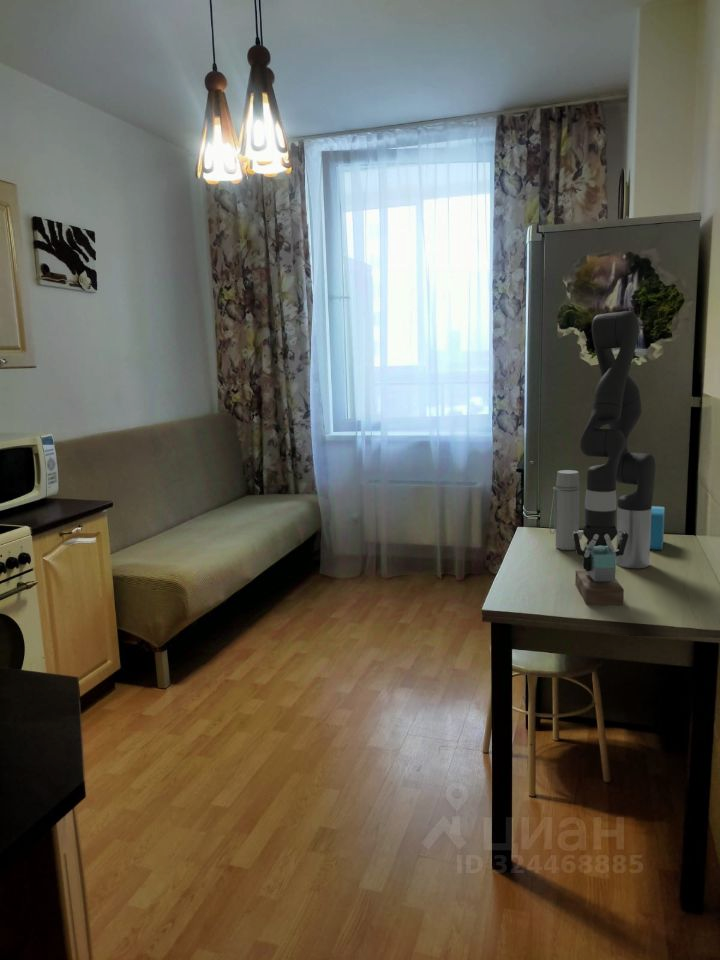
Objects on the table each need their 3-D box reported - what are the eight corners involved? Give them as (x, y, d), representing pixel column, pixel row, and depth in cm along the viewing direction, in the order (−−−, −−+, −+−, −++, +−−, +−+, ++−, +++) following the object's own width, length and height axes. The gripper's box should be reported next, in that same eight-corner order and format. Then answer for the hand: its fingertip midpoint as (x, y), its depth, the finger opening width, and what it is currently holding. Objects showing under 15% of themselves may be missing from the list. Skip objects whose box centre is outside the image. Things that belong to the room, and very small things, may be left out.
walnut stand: (575, 584, 186) (575, 570, 185) (609, 584, 185) (610, 570, 184) (585, 604, 171) (586, 589, 171) (623, 604, 170) (623, 589, 169)
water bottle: (575, 544, 223) (577, 469, 219) (581, 551, 216) (582, 473, 211) (547, 544, 224) (548, 470, 220) (551, 551, 217) (552, 474, 212)
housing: (594, 581, 172) (595, 554, 170) (583, 567, 182) (583, 542, 181) (614, 580, 171) (615, 554, 170) (602, 567, 182) (602, 542, 181)
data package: (648, 540, 225) (649, 505, 223) (663, 541, 223) (664, 505, 221) (646, 550, 215) (648, 513, 213) (662, 551, 213) (663, 514, 211)
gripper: (574, 510, 171) (572, 574, 174) (633, 509, 169) (631, 575, 172) (569, 503, 178) (567, 565, 181) (626, 503, 176) (623, 566, 179)
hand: (598, 570), depth 177 cm, fingers closed on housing, 5 cm apart
